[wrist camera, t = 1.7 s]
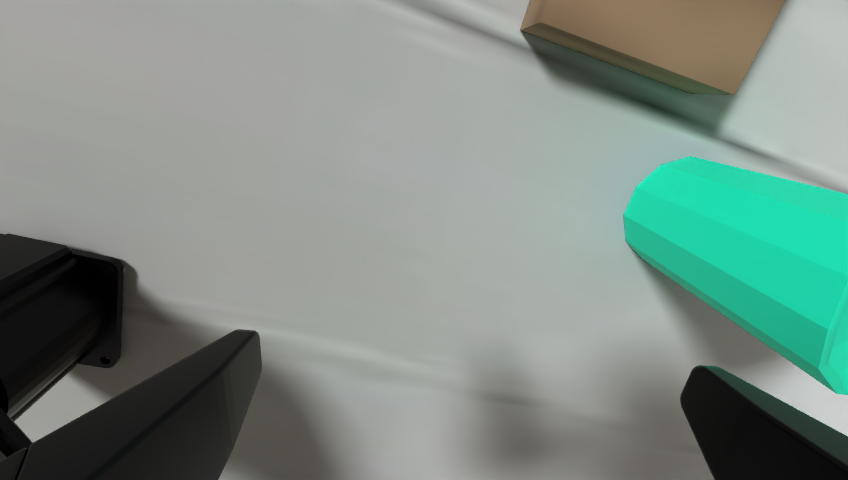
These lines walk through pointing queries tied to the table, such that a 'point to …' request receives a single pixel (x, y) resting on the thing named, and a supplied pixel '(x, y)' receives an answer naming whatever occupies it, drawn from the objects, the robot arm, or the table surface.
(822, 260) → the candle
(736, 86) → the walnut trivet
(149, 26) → the table surface
